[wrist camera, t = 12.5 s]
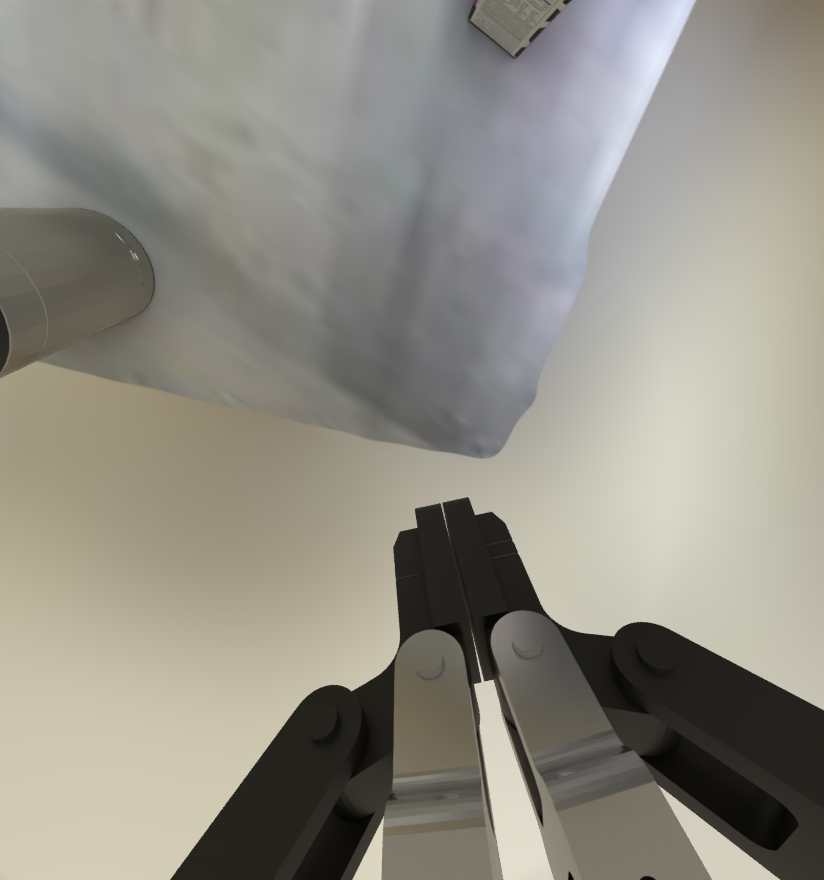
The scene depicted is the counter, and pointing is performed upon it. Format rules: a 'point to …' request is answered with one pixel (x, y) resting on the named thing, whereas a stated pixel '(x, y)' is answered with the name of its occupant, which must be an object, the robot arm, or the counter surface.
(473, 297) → the counter surface
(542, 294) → the counter surface
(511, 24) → the candy bar box
